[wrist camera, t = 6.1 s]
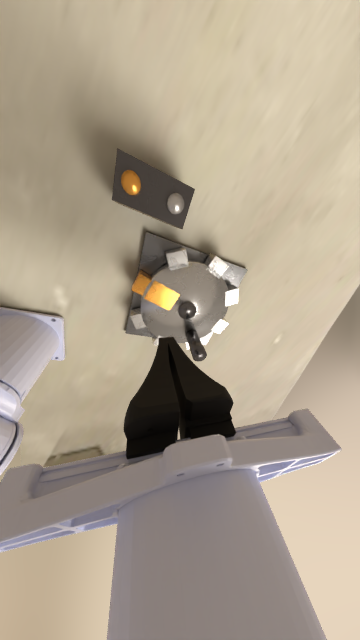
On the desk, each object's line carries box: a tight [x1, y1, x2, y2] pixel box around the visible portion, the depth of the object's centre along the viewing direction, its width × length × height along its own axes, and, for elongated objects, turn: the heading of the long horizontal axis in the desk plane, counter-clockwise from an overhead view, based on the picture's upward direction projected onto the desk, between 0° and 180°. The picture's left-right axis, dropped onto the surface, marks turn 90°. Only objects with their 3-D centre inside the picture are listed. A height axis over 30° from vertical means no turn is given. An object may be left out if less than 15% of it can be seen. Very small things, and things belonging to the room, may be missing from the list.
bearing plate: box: [126, 232, 247, 345], centre depth 22 cm, size 14×14×1 cm
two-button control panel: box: [112, 148, 195, 229], centre depth 14 cm, size 6×3×4 cm, turn 70°
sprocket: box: [130, 247, 239, 361], centre depth 19 cm, size 15×15×6 cm
